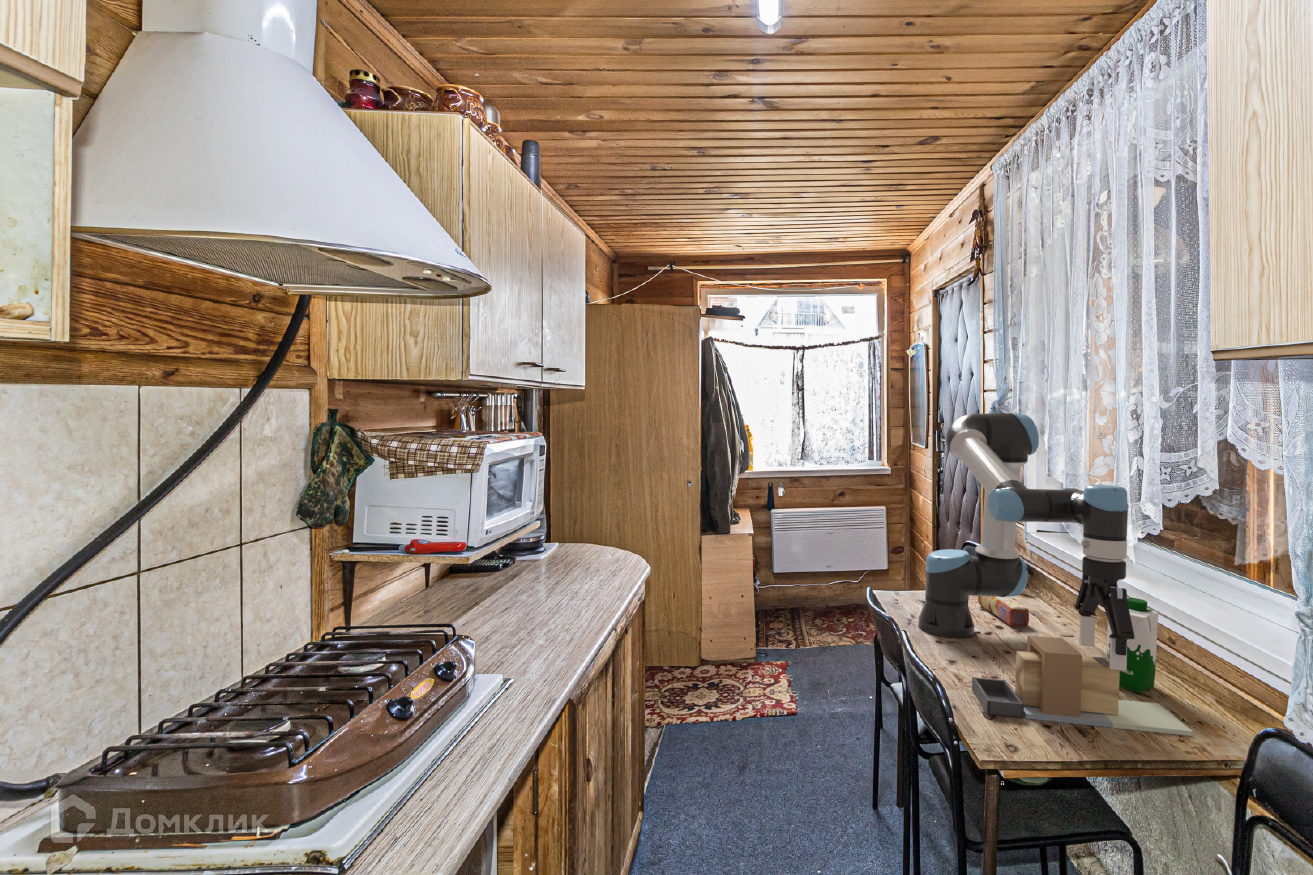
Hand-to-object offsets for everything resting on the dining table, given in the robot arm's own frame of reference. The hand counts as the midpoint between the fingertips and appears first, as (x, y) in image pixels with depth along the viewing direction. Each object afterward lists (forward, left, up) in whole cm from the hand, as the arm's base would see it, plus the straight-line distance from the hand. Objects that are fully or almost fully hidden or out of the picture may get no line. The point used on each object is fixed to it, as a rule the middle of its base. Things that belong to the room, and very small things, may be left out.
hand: (1101, 656), depth 130 cm
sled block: (0, -7, -11) cm, 13 cm away
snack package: (-66, +1, -13) cm, 67 cm away
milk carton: (-18, +14, -13) cm, 26 cm away
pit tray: (0, -20, -13) cm, 24 cm away
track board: (0, -1, -12) cm, 13 cm away
